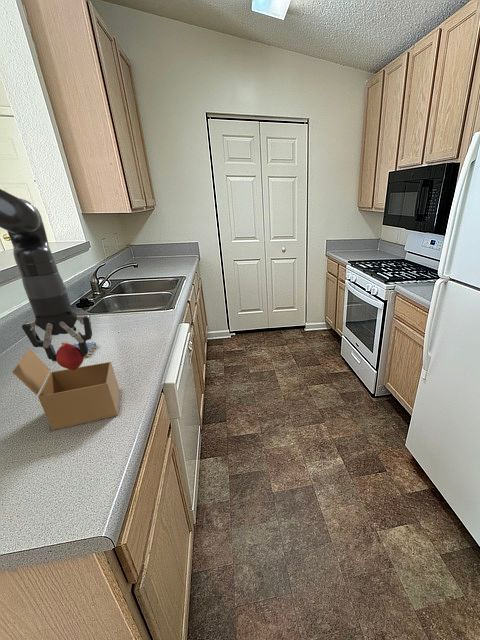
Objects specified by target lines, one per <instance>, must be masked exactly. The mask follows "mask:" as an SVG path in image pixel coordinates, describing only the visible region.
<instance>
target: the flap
mask: <svg viewBox="0 0 480 640" xmlns="http://www.w3.org/2000/svg"><path fill="white" fill-rule="evenodd" d="M50 372H51V369H50V368H49V366H48V365H46V364H45V362H43V360H42V359H41V358H40V357H39V356H38V355H36V353H35V352H34V351H33V350H32V349H31V348H28V349H27V351H26V352H25V353H24V354H23V356H22V358H20V360H19V362H18V363H16V366H15V367H14V368H13V369H12V371H11V373H12V374H13V375H14V376H16V378H17V379H19V380H20V381H21V382H22V383H23V384H24V385H25V386H26V387H27V388H28V389H29V390H30V391H31V392H32V393H33V394H34V395H35V396H37V395H39V393H40V391H41V389H42V388H43V386H44V384H45V382H46V380H47V378H48V376H49V374H50Z"/></svg>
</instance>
